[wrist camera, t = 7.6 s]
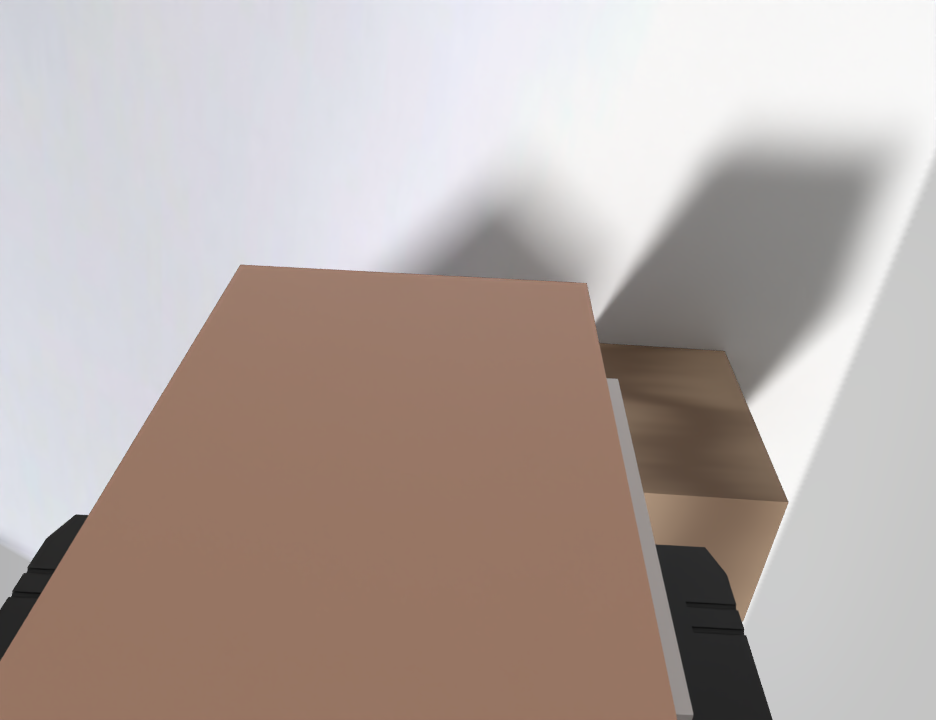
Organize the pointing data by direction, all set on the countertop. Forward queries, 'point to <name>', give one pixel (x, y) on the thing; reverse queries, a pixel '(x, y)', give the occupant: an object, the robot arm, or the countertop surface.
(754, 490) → the walnut block
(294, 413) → the terracotta block
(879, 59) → the countertop surface
